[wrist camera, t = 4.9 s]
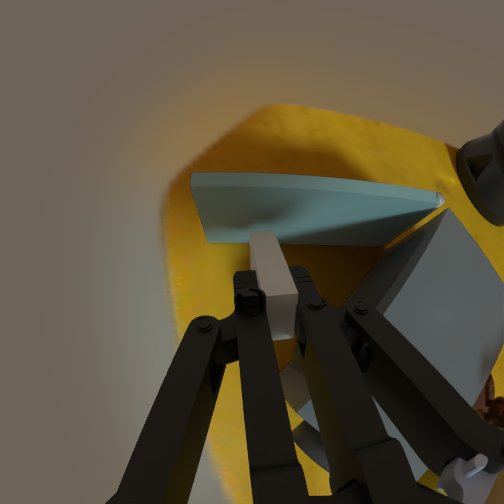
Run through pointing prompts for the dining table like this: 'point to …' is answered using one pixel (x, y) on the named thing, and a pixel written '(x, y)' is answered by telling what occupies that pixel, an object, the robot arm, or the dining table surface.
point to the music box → (490, 405)
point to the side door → (307, 208)
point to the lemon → (430, 480)
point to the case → (424, 319)
